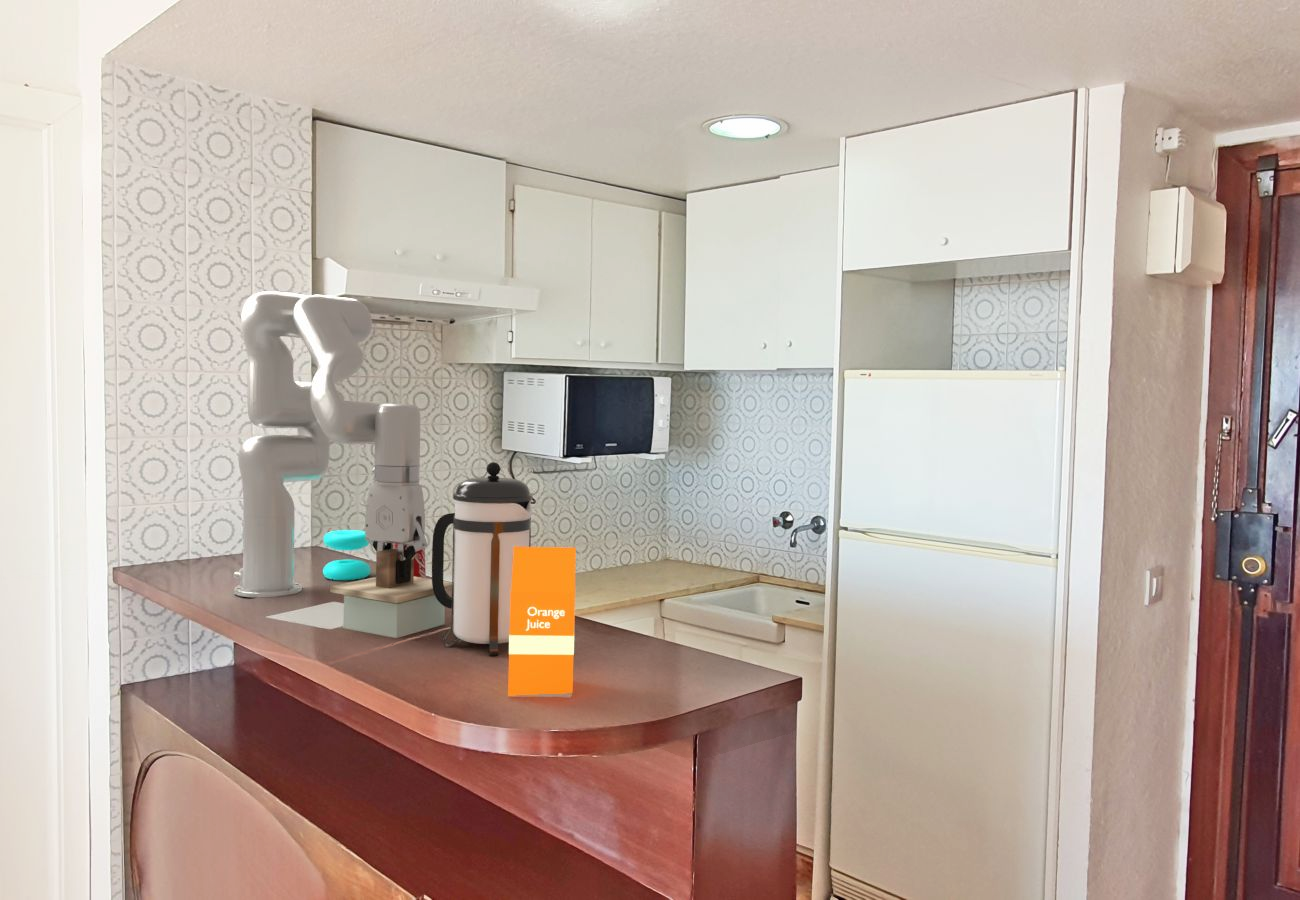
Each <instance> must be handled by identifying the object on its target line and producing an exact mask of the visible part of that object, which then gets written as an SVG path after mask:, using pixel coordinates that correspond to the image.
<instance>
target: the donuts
mask: <svg viewBox="0 0 1300 900" xmlns="http://www.w3.org/2000/svg"><path fill="white" fill-rule="evenodd" d="M322 541H323V543H324V545H325V546H326V547H327V548H329V549H333V550H337V551H355V550H360V549H361V550H362V549H364V548H366V547H367V546H368V545H370V543H369V542H368V541H366V535H365V530H358V529H357V530H356V529H354V530H353V529H342V530H341V529H340V530H339V529H338V530H334V531H333V530H332V531H329V532H327V533H325V535H324V536H323V540H322ZM322 573H323V576H324V577H325V578H327V579H329V580H332V579H333V581H356V580H355V579H358V580H362V579H365V578H366V577H368V576H369V575H370V573H371V567H370V565H369V564H368V563H367V562H366V561H363V560H361V559H351V558H348V559H346V558H345V559H337V560H333V561H329V562H328V563H327V564H326V565H325V566H324V567H323V569H322ZM361 578H362V579H361Z"/></svg>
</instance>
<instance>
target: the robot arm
mask: <svg viewBox="0 0 1300 900" xmlns="http://www.w3.org/2000/svg"><path fill="white" fill-rule="evenodd" d="M240 323H241V324H240V327H241V332H242V338H243V342H244V346H245V349H246V350H245V351H246V357H247V377H246V378H247V379H246V380H247V381H246V382H247V384H246V385H247V387H246V388H247V389H246V390H247V392H246V394H247V396H246V398H247V415H248V419H249V420H250V422H251V423H252V425H254V426H256V427H259V428H265V429H297V434H293V435H292V434H290V435H289V434H264V435H262V434H261V435H257V436H252V437H250V438H248V439H246V440H245V441H244V442H243V443H242V444H241V445H240V448H239V451H238V455H237V459H238V466H239V472H240V477H241V485H242V496H243V497H242V498H243V499H242V500H243V514H242V515H243V519H242V522H243V523H242V524H243V525H242V526H243V533H242V535H243V536H242V537H243V541H242V546H243V547H242V549H243V550H242V563H243V564H242V567H241V568H240V569H239V570H238V571H235V572H233V577H234V579H240V580H239V581H240V583H239V584H238V585H237V586H235V587H234V590H233V591H234V592H233V593H234V594H235V595H236V596H238V597H243V598H251V599H252V598H254V599H256V598H274V597H275V598H276V597H277V598H278V597H285V596H289V595H290V596H291V595H294V594H297V593H300V592H302V590H303V585H302V584H301V583H299V582H295V503H294V501H293V500H294V499H293V497H292V496H291V494H290V493H289V491H288V490H287V488H286V487H285V483H296V482H297V483H298V482H310V481H316V480H319V479H321V478H322V477H324V475H325V474H326V472H327V470H328V468H329V464H330V444H331V442H332V443H335V444H338V445H367V444H368V445H374V467H373V468H372V469H371V474H373V476H374V477H373V478H374V482H371V483H370V486H369V489H368V494H367V498H366V499H367V500H366V505H365V506H366V507H365V517H364V519H365V520H364V531H365V535H366V541H368V542H369V545H372V547H373V548H374V551H375V553H376V552H377V551H383V550H388V549H394V543H398V558H399V560H398V561H396V584H402V583H406V582H410V581H411V559H414V557H415V554H416V553H417V552H418V551H419V550H421V549H423V548H425V549H426V548H427V546H428V542H427V540H426V536H425V532H426V513H425V512H426V511H425V509H426V508H425V501H424V500H425V498H424V493H423V488H422V484H421V483H420V472H421V471H420V465H421V464H420V461H421V458H420V457H421V411H420V408H419V407H418V406H417V405H414V404H409V403H408V404H406V403H405V404H404V403H394V402H392V403H391V402H389V401H388V402H386V401H371V400H370V401H369V400H368V401H367V400H365V401H364V400H344V399H343V398H342V397H341V395H340V393H339V391H338V390H337V387H336V385H335V384H338V383H340V382H342V381H344V380H346V379H348V378H350V377H352V376H353V375H354V374H356V373H357V372H359V370H360V369H361V367H362V365H363V363H364V359H365V357H364V353H363V350H362V348H361V347H360V345H359V343H362V342H364V341H366V340H367V339H368V338H369V335H370V334H371V332H372V328H373V319H372V315H371V312H370V310H369V309H368V307H367V305H365V304H364V303H363V302H362V301H360V300H358V299H355V298H349V297H344V296H343V297H341V296H334V295H328V294H327V295H324V294H313V295H312V294H311V295H306V294H298V293H292V292H281V291H261V292H257V293H254V294H252V295H251V296H249V297H248V299H246V301H245V303H244V305H243V307H242V312H241V318H240ZM281 337H286V338H287V337H288V338H297V339H300V338H301V339H302V340H303V343H304V345H305V347H306V349H307V351H308V353H309V355H310V357H311V359H312V361H313V362H314V364H315V367H316V369H317V370H316V372H315V373H314V375H313V378H312V380H311V382H310V381H309V382H308V381H295V378H294V367H295V366H294V358H293V355H292V353H291V351H290V349H289V347H288V345H287V344H286V343H285V342H284V340H283V339H282V338H281ZM330 441H331V442H330ZM414 541H415V543H414ZM406 545H407V549H406V550H405V546H406Z"/></svg>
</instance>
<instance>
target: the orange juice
mask: <svg viewBox="0 0 1300 900" xmlns="http://www.w3.org/2000/svg"><path fill="white" fill-rule="evenodd" d="M576 550H577V548H576V547H557V546H556V547H553V546H551V547H550V546H549V547H547V546H546V547H545V546H544V547H543V546H530V547H514V551H513V567H512V584H511V591H510V634H509V642H508V680H507V681H508V683H507V687H508V689H507V690H508V691H507V697H508V696H516V695H538V694H566V693H573V691H574V690H573V688H574V686H573V685H574V654H575V615H576V614H575V613H576V611H575V610H576V605H575V604H576V561H577V560H576V559H577V558H576V556H577V554H576V552H577V551H576Z"/></svg>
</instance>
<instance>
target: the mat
mask: <svg viewBox="0 0 1300 900" xmlns="http://www.w3.org/2000/svg"><path fill="white" fill-rule="evenodd" d="M265 618H266V619H273V620H278V621H284V622H288V623H292V624H297V625H304V626H309V627H314V628H319V629H324V630H333V629H338V628H343V621H344V602H339V601H329V602H326V603H321V604H318V605H317V604H316V605H313V606H312V605H311V606H307V607H305V608H299V609H295V610H291V611H285V612H281V613H277V614H273V615H272V614H271V615H269V616H265Z"/></svg>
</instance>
